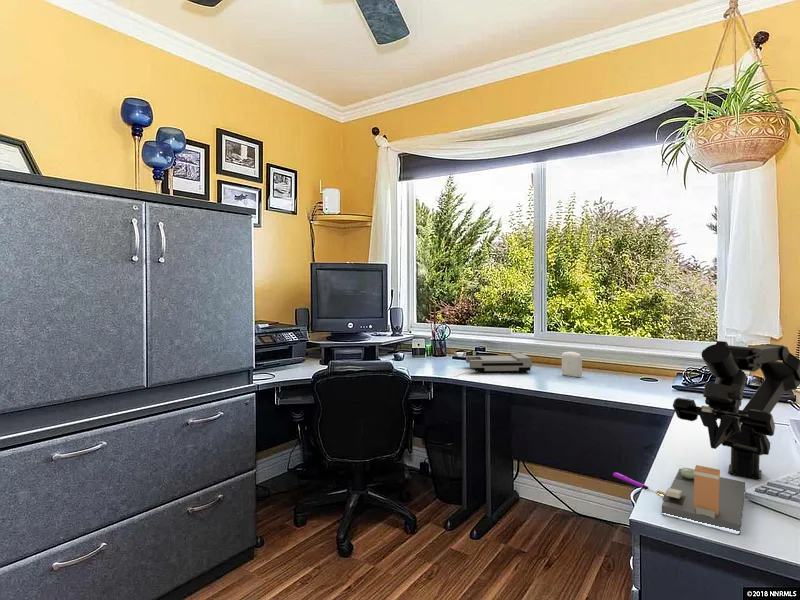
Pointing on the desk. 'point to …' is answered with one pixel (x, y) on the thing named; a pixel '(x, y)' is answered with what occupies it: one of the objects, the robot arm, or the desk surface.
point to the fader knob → (707, 488)
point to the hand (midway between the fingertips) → (713, 447)
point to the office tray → (500, 363)
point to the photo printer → (572, 364)
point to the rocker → (673, 493)
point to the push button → (687, 473)
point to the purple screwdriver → (633, 482)
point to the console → (727, 513)
